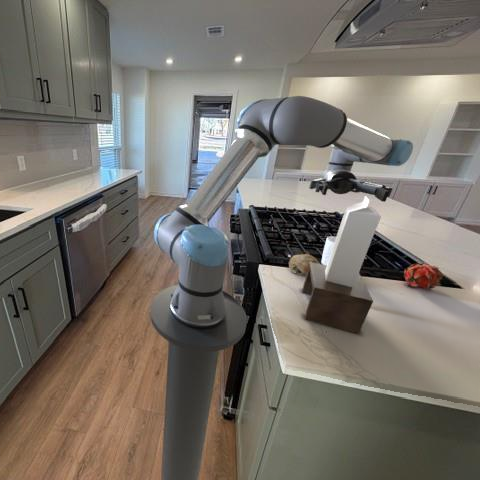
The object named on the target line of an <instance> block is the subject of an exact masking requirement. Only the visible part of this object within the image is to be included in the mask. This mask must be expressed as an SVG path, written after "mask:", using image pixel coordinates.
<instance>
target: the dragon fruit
mask: <svg viewBox="0 0 480 480" xmlns="http://www.w3.org/2000/svg"><path fill="white" fill-rule="evenodd" d="M403 277H404V279H405V282H406V286H408V287H412V288H418V289H419V288H421V289H422V290H432V289H435V288H436V287H439V286H442V283H441V280H443V277H444V273H443V272H442V271H441V270H440V268H439V267H438V266H436V265H429V263H426V262H425V263H423V264H419V263H414V264H411V265H410V266H408V267H406V268H405V269H404V270H403Z"/></svg>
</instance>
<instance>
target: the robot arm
mask: <svg viewBox="0 0 480 480" xmlns="http://www.w3.org/2000/svg"><path fill="white" fill-rule="evenodd" d="M236 122H237V125H235V131H234V133H233V137H234V141H233V142H232V143H231V145H230V146H229V147H228V149H227V150H226V151H225V152H224V154H223V155H222V156H221V158H220V159H219V160H218V162H217V163H216V164H215V166H214V167H213V168H212V170H211V171H209V174H208V175H207V176H206V177H205V178H204V180H203V181H202V183H201V184H200V185H199V186H198V188H197V189H196V190H195V191H194V193H193V194H192V195H191V197H190V198H189V199H188V200H187V202H186V203H185V204H182V205H178V206H177V207H176V208H175V209H174V210H173V212H172V213H167V214H164V215H163V216H161V217H160V218H159V219H158V221H157V222H156V224H155V227H154V229H153V237H154V240H155V243H156V245H157V246H158V247H159V249H160V250H161V251H162V253H164V254H165V255H167V257H169V259H170V260H171V261H173V262H174V264H175V265H176V266H178V269H179V270H178V282H177V283H178V284H177V285H178V286H177V288H176V290H175V293H174V294H171V297H172V299H171V305H170V310H171V313H172V315H173V317H174V318H175V319H176V320H177V321H178V322H180V323H181V324H183V325H185V326H188V327H191V328H195V329H210V328H214V327H216V326H218V325H220V324H221V323H222V322H223V321H224V319H225V315H226V305H225V300H224V296H223V291H224V290H223V287H224V283H225V282H224V281H225V275H226V269H227V265H228V258H229V243H230V242H229V239H228V237H227V236H226V234H225V233H224V232H223V231H221V229H218V228H216V227H213V226H210V225H209V223H210V221H211V220H212V218H213V217H214V216H215V214H216V213H217V212H218V210H220V208H221V207H222V206H223V204H224V203H225V202H226V200H227V199H228V198H229V196H230V195H231V194H232V193H233V192H234V190H235V189H236V187H237V186H238V185H239V184H240V182H241V181H242V180H243V178H244V177H245V176H246V175H247V173H248V172H249V171H250V169H251V168H252V167H253V166H254V164H255V163H256V162H257V160H258V159H259V158H265V157H266V156H268V155H269V153H270V152H271V151H272V150H273V149H274V147H275V146H277V145H278V146H279V145H280V146H308V147H314V148H318V149H324V148H330V149H331V153H330V156H329V160H328V163H327V166H326V169H325V171H324V172H323V175H322V177H320V178H317V179H312V180H310V184H309V189H310V190H314V189H315V192H314V193H321V195H322V196H326V195H327V194H328V193H327V192H328V190H330V191H331V192H332V193H333V194H336V195H346V194H348V193H350V192H351V193H356V194H357V193H362V194H368V195H372V196H374V197H375V198H376V199H378V200H379V201H380V202H384V203H386V201H387V199H388V198H390V196H391V194H392V192H393V189H394V188H393V187H391V186H387V184H382V185H381V184H377V183H373V182H371V181H365V183H364V181H362V180H358V179H357V177H356V175H355V174H354V173H352V172H351V171H352V168H353V165H354V162H356V163H363V164H374V165H382V166H388V167H391V166H392V167H400V166H403V165H404V164H406V163H407V162H408V160H410V157H411V155H412V153H413V150H414V144H413V142H412V141H411V140H409V139H408V140H407V139H401V138H399V139H393V138H390V137H388V136H386V135H383V134H382V133H380V132H377V131H375V130H373V129H372V128H369V127H367V126H364V125H363V124H360V123H358V122H356V121H354V120H352V119H350V118H348V116H347V113H346V112H345V111H344V110H343V109H340V108H338V107H336V106H334V105H332V104H330V103H327V102H325V101H322V100H319V99H316V98H313V97H309V96H305V95H295V96H294V95H293V96H287V97H276V98H263V99H259V100H256V101H253V102H251V103H250V102H249V104H247V105H246V106H245V107H244V108H243V109H242V110H241V111H240V113H239V115H238V117H237V119H236Z"/></svg>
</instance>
